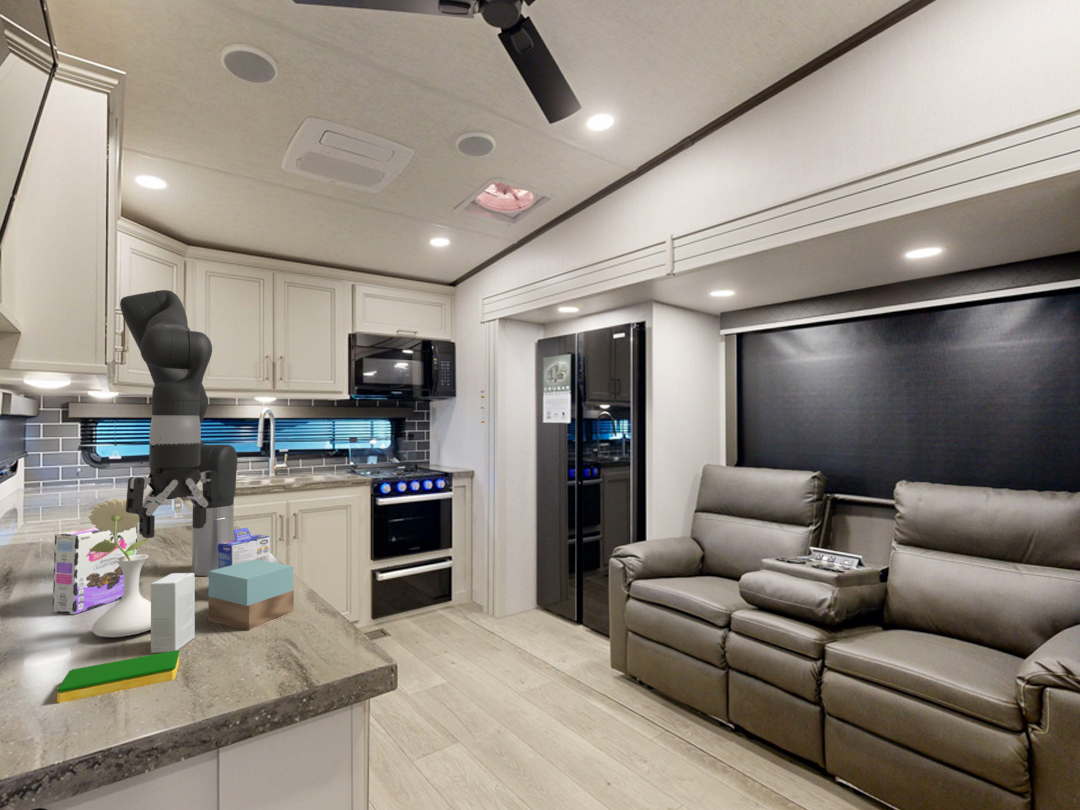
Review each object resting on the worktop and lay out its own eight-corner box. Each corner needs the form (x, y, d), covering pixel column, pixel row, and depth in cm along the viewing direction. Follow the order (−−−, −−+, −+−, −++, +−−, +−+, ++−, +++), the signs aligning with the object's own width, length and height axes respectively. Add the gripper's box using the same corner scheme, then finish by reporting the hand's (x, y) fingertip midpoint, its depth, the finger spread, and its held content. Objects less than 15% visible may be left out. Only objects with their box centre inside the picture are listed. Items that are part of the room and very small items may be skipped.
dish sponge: (175, 682, 82) (175, 666, 82) (56, 706, 75) (56, 689, 75) (179, 663, 88) (179, 649, 88) (69, 685, 81) (70, 669, 81)
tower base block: (253, 606, 115) (254, 582, 115) (293, 614, 110) (293, 590, 110) (208, 622, 106) (208, 597, 106) (249, 632, 101) (249, 605, 101)
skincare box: (170, 639, 97) (171, 572, 97) (195, 638, 97) (196, 572, 97) (148, 653, 91) (149, 583, 91) (175, 652, 91) (176, 582, 91)
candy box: (74, 615, 108) (75, 534, 109) (51, 613, 110) (52, 533, 110) (137, 593, 122) (138, 521, 122) (116, 592, 123) (117, 520, 124)
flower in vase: (179, 617, 107) (180, 493, 108) (147, 641, 96) (149, 502, 96) (106, 622, 105) (108, 495, 105) (65, 646, 94) (67, 504, 94)
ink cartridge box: (255, 584, 128) (256, 524, 129) (271, 587, 126) (272, 526, 126) (216, 597, 119) (216, 532, 120) (232, 600, 117) (233, 534, 117)
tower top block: (255, 582, 115) (255, 559, 115) (292, 590, 110) (293, 566, 110) (208, 596, 106) (208, 571, 106) (246, 605, 101) (247, 579, 101)
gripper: (201, 439, 103) (200, 523, 102) (118, 442, 90) (116, 538, 89) (227, 440, 100) (226, 527, 99) (144, 443, 87) (142, 543, 86)
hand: (174, 532), depth 94 cm, fingers open, 8 cm apart
